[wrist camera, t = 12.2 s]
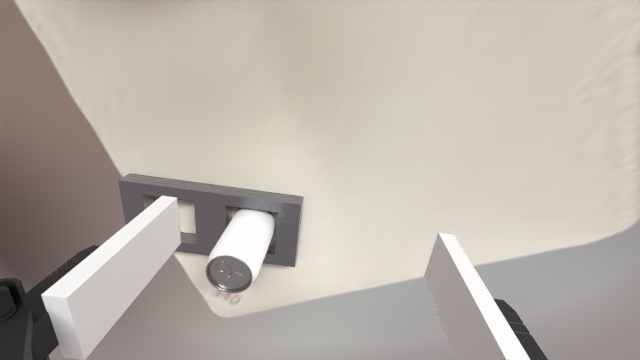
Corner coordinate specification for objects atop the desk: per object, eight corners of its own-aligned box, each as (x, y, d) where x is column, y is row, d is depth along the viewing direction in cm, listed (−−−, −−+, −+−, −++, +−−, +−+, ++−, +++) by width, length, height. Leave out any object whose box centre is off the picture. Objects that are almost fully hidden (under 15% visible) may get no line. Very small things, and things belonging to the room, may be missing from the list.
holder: (129, 173, 45) (118, 180, 42) (303, 196, 44) (301, 204, 42) (139, 235, 49) (129, 244, 47) (296, 256, 49) (294, 266, 46)
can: (256, 246, 48) (232, 304, 37) (226, 220, 47) (191, 272, 36) (284, 223, 46) (267, 277, 35) (253, 195, 45) (225, 243, 34)
